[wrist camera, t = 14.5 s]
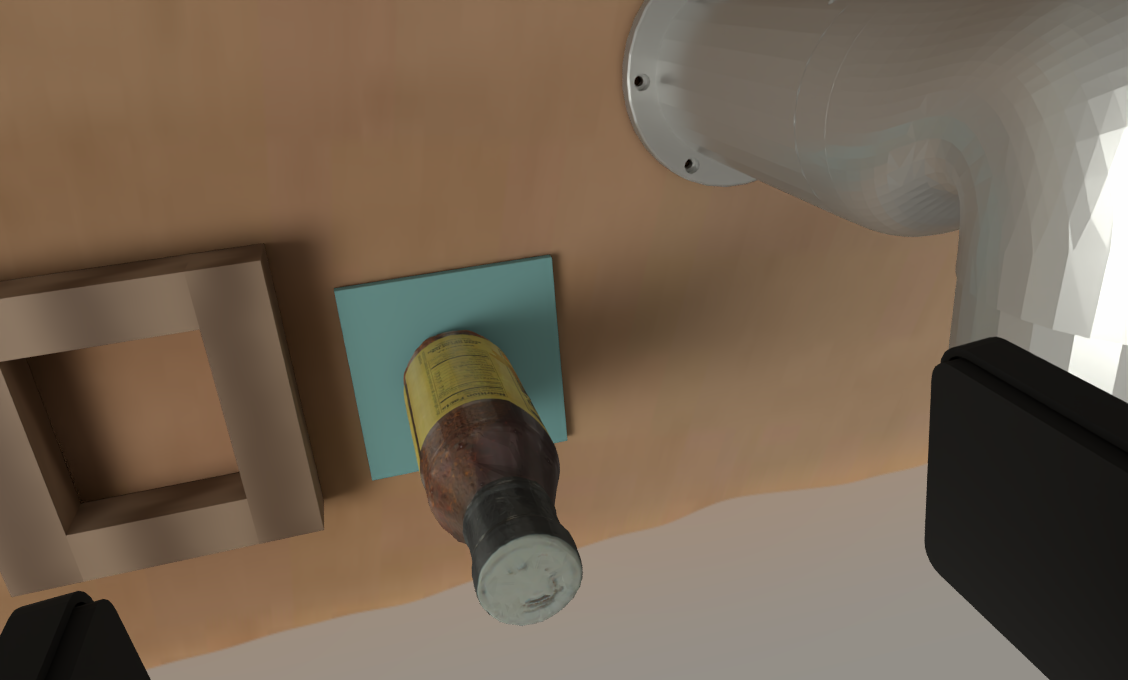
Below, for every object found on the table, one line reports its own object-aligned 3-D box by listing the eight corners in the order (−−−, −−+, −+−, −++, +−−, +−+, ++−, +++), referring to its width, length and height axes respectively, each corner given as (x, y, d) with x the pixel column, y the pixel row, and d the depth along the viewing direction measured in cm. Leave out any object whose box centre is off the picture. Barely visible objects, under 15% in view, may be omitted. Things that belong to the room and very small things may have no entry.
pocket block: (263, 243, 43) (260, 260, 41) (323, 500, 50) (323, 530, 47) (-84, 293, 40) (-113, 315, 37) (29, 561, 46) (11, 597, 44)
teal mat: (549, 254, 48) (551, 257, 47) (565, 436, 52) (567, 440, 52) (334, 288, 45) (334, 291, 45) (371, 476, 50) (372, 480, 50)
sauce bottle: (494, 427, 50) (584, 668, 33) (390, 414, 48) (426, 663, 30) (521, 327, 48) (633, 526, 30) (413, 308, 46) (467, 511, 28)
